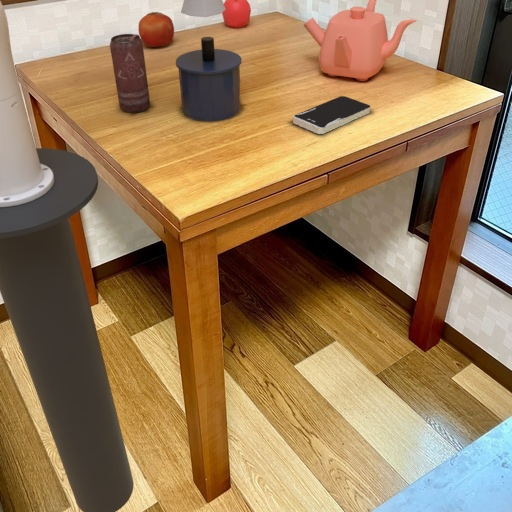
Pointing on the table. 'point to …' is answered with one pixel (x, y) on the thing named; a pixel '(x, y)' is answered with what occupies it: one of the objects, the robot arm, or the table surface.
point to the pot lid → (208, 59)
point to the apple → (236, 13)
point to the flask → (202, 7)
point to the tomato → (156, 29)
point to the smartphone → (331, 114)
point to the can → (130, 73)
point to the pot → (210, 95)
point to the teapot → (355, 42)
